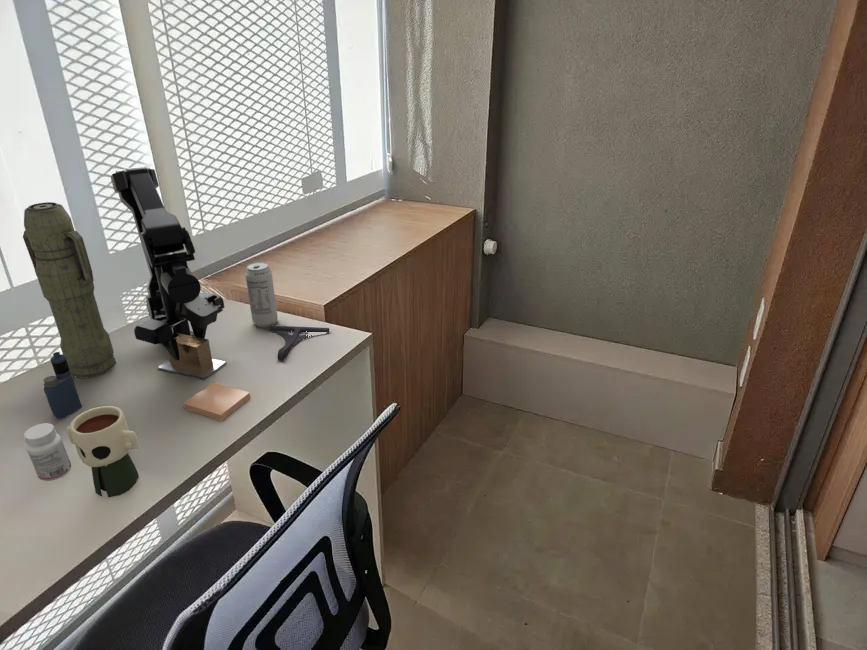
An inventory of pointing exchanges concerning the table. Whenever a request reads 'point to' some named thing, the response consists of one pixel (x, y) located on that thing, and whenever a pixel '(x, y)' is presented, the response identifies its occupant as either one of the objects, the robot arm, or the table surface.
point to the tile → (217, 401)
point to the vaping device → (61, 389)
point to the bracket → (292, 336)
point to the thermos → (68, 288)
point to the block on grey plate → (192, 358)
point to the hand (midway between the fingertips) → (189, 352)
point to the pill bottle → (47, 452)
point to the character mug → (105, 448)
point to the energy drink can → (261, 294)
